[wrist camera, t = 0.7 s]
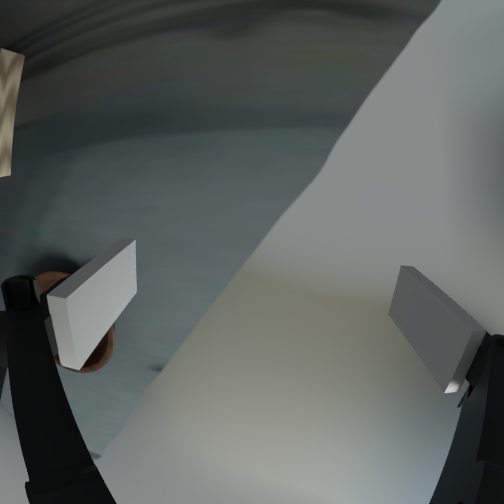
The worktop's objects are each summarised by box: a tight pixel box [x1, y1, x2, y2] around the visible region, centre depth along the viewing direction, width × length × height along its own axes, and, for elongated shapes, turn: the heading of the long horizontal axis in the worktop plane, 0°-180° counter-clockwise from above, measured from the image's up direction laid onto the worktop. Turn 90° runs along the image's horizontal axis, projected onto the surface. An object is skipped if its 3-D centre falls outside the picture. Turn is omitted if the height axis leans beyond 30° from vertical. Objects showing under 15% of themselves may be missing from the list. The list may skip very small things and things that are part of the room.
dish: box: [35, 271, 115, 373], centre depth 45 cm, size 18×22×5 cm
